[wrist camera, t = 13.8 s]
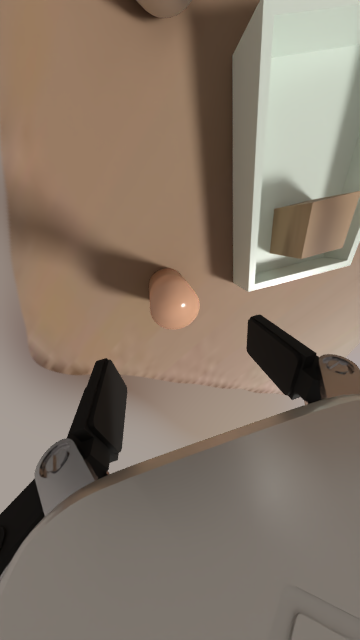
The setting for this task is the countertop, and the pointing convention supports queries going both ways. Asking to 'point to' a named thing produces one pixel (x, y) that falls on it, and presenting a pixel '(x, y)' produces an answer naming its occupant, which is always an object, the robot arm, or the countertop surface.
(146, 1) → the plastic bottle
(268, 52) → the box
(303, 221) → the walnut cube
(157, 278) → the tan rounded-top part
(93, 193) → the countertop surface
